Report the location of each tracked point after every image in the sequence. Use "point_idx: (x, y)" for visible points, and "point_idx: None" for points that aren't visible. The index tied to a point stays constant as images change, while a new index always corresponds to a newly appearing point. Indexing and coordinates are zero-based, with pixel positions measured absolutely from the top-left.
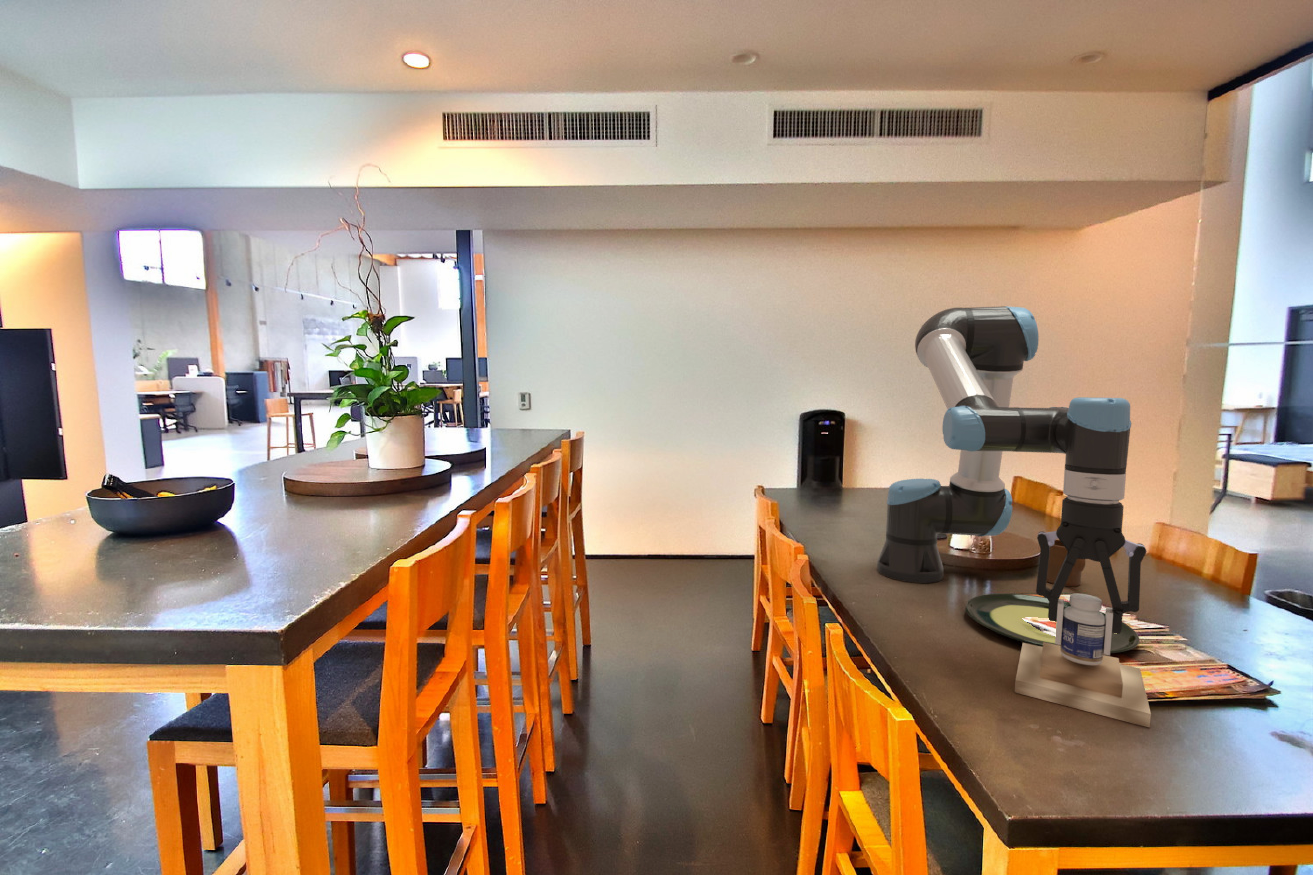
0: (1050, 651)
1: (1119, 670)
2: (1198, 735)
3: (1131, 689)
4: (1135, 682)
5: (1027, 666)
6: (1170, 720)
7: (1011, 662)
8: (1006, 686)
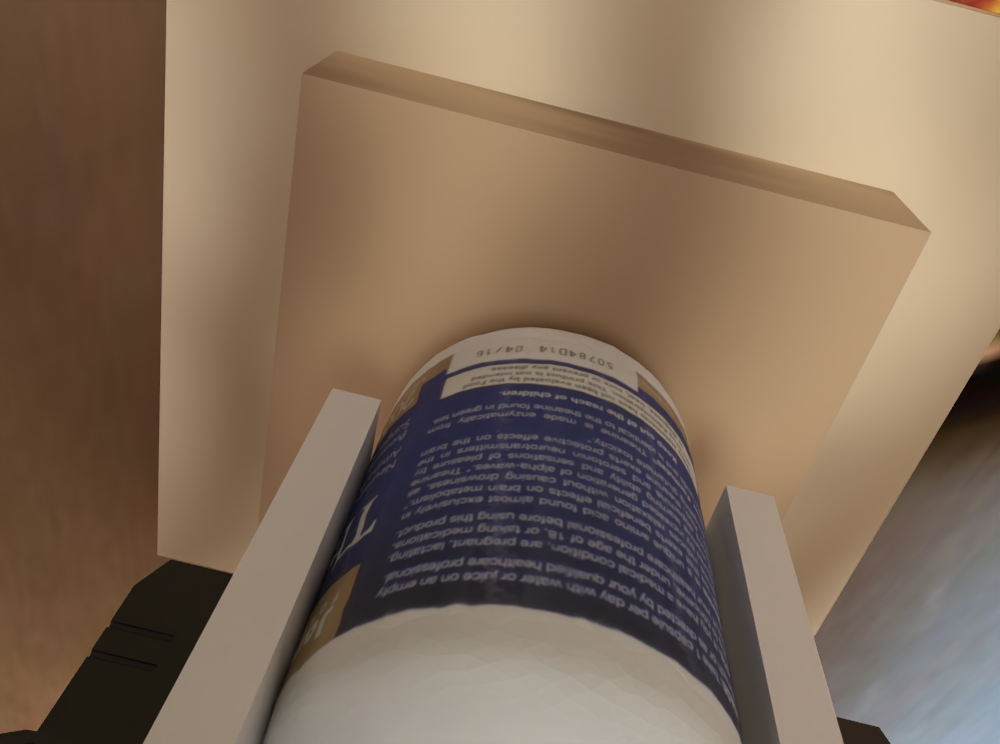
0: (345, 288)
1: (795, 479)
2: (972, 645)
3: (821, 479)
4: (918, 367)
5: (217, 361)
6: (922, 554)
7: (149, 75)
8: (148, 452)
